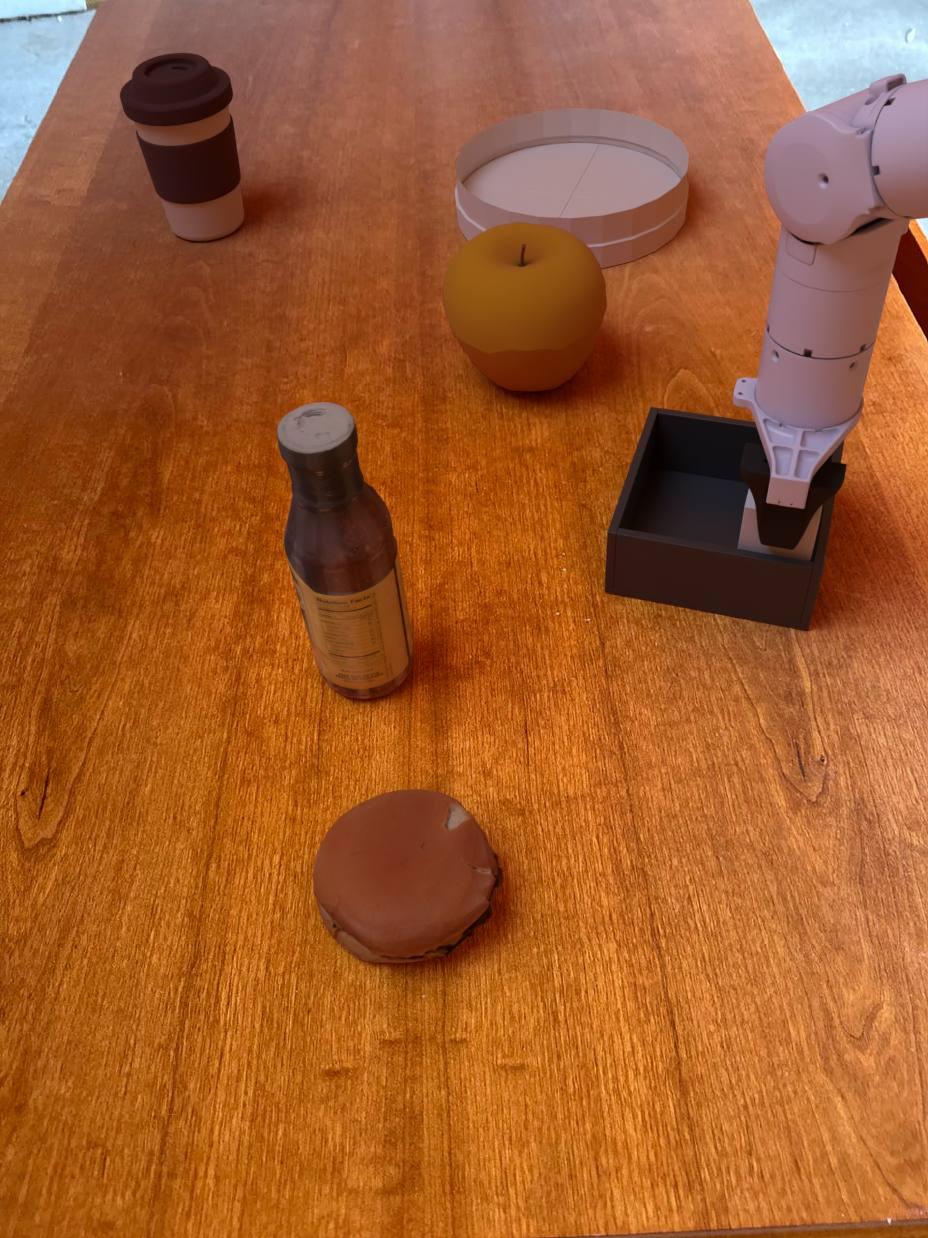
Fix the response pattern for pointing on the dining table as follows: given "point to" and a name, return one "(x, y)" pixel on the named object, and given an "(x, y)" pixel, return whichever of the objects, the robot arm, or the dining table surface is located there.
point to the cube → (752, 543)
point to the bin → (703, 527)
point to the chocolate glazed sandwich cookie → (405, 877)
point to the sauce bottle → (343, 556)
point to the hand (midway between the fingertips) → (783, 518)
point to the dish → (577, 179)
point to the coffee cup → (188, 142)
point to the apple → (525, 304)
